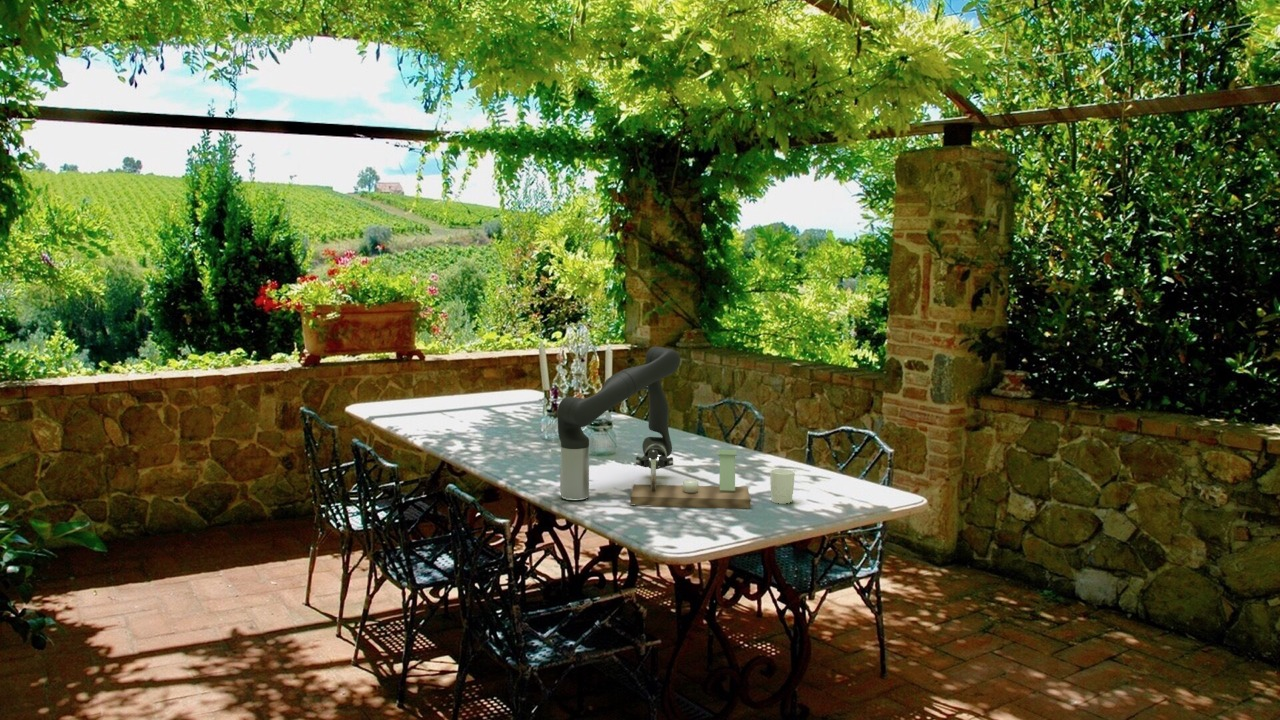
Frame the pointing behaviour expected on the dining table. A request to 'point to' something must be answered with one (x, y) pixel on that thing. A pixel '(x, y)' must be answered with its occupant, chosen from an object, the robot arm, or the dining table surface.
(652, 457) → the steel toggle lever
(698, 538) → the dining table surface
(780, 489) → the white cup
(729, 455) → the sage-green paddle lever
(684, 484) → the ivory push button
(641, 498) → the walnut switch board
